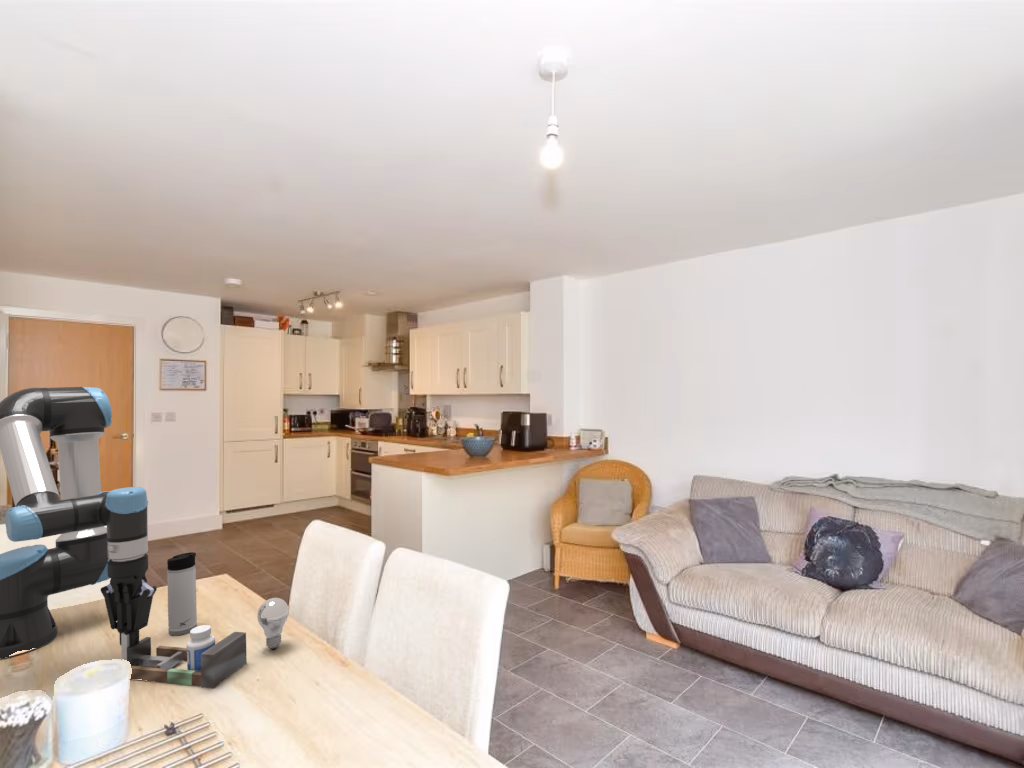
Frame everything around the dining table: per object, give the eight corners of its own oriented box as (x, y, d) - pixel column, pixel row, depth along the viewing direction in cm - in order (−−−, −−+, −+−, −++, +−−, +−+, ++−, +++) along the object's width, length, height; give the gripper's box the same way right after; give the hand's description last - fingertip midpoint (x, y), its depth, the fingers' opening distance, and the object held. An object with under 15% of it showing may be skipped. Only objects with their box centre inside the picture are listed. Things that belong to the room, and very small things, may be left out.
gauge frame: (121, 679, 113) (121, 647, 113) (160, 655, 123) (160, 625, 123) (213, 688, 109) (213, 655, 109) (246, 663, 119) (246, 632, 119)
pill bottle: (221, 666, 117) (220, 623, 117) (204, 680, 112) (203, 635, 112) (199, 665, 118) (198, 622, 118) (181, 679, 113) (180, 634, 113)
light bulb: (280, 638, 130) (279, 590, 130) (295, 646, 126) (293, 597, 126) (252, 649, 125) (251, 600, 125) (266, 659, 120) (265, 607, 120)
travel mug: (188, 635, 132) (186, 557, 132) (162, 636, 133) (161, 558, 133) (203, 624, 139) (201, 549, 139) (179, 624, 139) (177, 550, 139)
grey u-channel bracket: (125, 671, 115) (124, 648, 115) (148, 657, 121) (148, 635, 121) (160, 674, 114) (159, 652, 114) (182, 660, 119) (182, 638, 119)
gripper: (88, 560, 116) (90, 665, 116) (137, 563, 114) (139, 670, 114) (119, 550, 124) (121, 648, 124) (166, 552, 121) (167, 653, 121)
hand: (129, 659), depth 119 cm, fingers closed
